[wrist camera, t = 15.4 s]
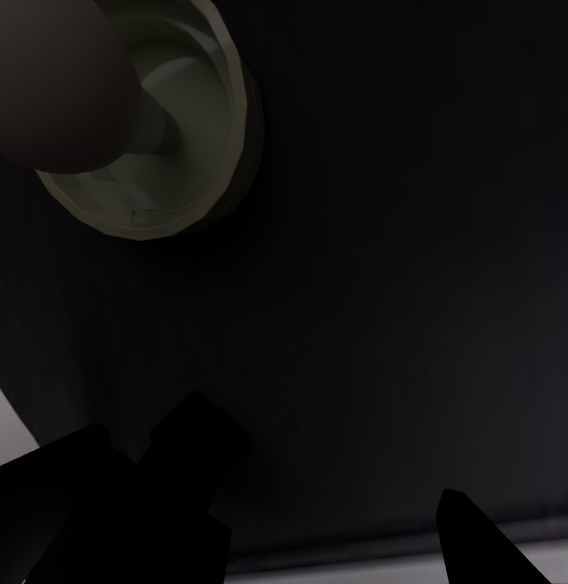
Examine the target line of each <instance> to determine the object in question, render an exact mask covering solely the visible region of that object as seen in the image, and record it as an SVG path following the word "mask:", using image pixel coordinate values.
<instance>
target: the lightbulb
mask: <svg viewBox="0 0 568 584" xmlns="http://www.w3.org/2000/svg"><path fill="white" fill-rule="evenodd" d="M178 139H179V130H178V125H177V123H176V121H175V119H174V118H173V116H172V115H171V114H170V113H168V112H167V111H166V110H165V109H164V108H162V107H161V106H160V105H159V104H158V102H157V100H156V99H155V98H154V97H153V96H152V95H151V94H150V93H149V92H147V91H146V90H145V89H144V88H143V87H142V86H141V84H140V80H139V77H138V75H137V72H136V69H135V67H134V64H133V62H132V59H131V57H130V54H129V51H128V49H127V47H126V45H125V44H124V42H123V40H122V39H121V37H120V35H119V33H118V32H117V31H116V29H115V28H114V26H113V25H112V24H111V22H110V21H109V20H108V18H107V17H106V16H105V15H104V13H103V12H102V11H101V10H100V9H99V7H98V6H97V5H96V4H95V3H94V2H93V1H92V0H0V155H2V156H4V157H5V158H7V159H9V160H11V161H13V162H15V163H18V164H21V165H23V166H26V167H29V168H32V169H36V170H39V171H42V172H48V173H55V174H68V175H72V174H79V173H86V172H91V171H96V170H99V169H101V168H103V167H105V166H108V165H109V164H111V163H113V162H114V161H116V160H118V159H119V158H120V157H121V156H123V155H124V154H133V155H144V154H150V155H157V156H164V155H167V154H169V153H171V152H172V151H173V150H174V149H175V147H176V145H177V143H178Z"/></svg>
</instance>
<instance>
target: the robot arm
mask: <svg viewBox="0 0 568 584" xmlns="http://www.w3.org/2000/svg"><path fill="white" fill-rule="evenodd" d="M194 397H195V398H196V399H194ZM149 438H150V439H151V440H152V441H153V443H152V445H151V446H150V447H149V449H148V450H147V451H146V453H145V454H144V455H143V456H142V458H141V459H140V460H139V462H138V463H137V464H136V463H135V462H133V461H132V460H130V459H129V458H127V457H126V454H125V453H123V452H122V451H120V450H119V451H118V452H117V453H116V454H115V455H114V457H113V458H112V459H111V460H110V459H109V458H108V456H109V453H110V444H109V435H108V429H107V428H106V427H105V426H101V425H96V424H91V425H89V426H86V427H84V428H82V429H80V430H78V431H75V432H73V433H71V434H69V435H67V436H64V437H62V438H60V439H58V440H56V441H54V442H51V443H49V444H47V445H45V446H43V447H40V448H38V449H36V450H34V451H32V452H29V453H28V454H25V455H23V456H21V457H19V458H16V459H14V460H12V461H10V462H8V463H6V464H3V465H1V466H0V584H21V583H22V582H23V580H24V579H25V580H26V582H25V583H24V584H224V578H225V571H226V564H227V557H228V551H229V544H230V537H231V530H232V528H230V527H229V526H227V525H226V524H221V523H220V522H219V521H217V520H216V519H214V518H213V517H211V516H210V515H209V514H207V512H208V509H209V507H210V504H211V502H212V499H213V497H214V495H215V492H216V490H217V487H218V485H219V482H220V480H221V477H222V475H223V472H224V470H225V469H226V468H227V467H229V466H230V465H231V464H233V463H234V462H235V461H236V460H238V459H239V458H240V457H242V456H243V455H244V454H246V453H247V452H248V451H249V450H250V449H251V446H252V441H251V440H250V439H249V438H248V437H247V436H246V435H245V434H244V433H243V432H241V431H240V430H239V429H238V428H237V427H236V426H235V425H234V424H233V423H232V422H231V421H230V420H229V419H227V418H226V417H225V416H224V415H223V414H222V413H221V412H220V411H219V410H218V409H217V408H216V407H214V406H213V405H212V404H211V403H210V402H209V401H208V400H207V399H206V398H205V397H204V396H203V395H202V394H200V393H199V392H197V391H193V392H191V393H190V394H189V395H188V396H187V397H186V398H185V399H184V400H183V401H182V402H181V403H180V404H179V405H178V406H176V407H175V408H174V409H173V410H172V411H171V412H170V413H169V414H168V415H167V416H166V417H165V418H164V419H163V420H161V421H160V422H159V423H158V424H157V425H156V426H155V427H154V428H153V429H152V430H151V431H150V432H149ZM244 444H246V445H244ZM107 458H108V459H107ZM436 523H437V528H438V533H439V538H440V543H441V547H442V552H443V557H444V562H445V566H446V571H447V576H448V581H449V584H551V583H550V582H549V581H548V580H547V579H546V578H545V576H544V575H543V574H542V573H541V572H540V571H539V570H538V569H537V568H536V567H535V566H534V565H533V564H532V563H531V562H530V561H529V560H528V559H527V558H526V557H525V556H524V555H523V554H522V553H521V552H520V550H519V549H518V548H517V547H516V546H515V545H514V544H513V543H512V542H511V541H510V540H509V539H508V538H507V537H506V536H505V535H504V534H503V533H502V532H501V531H500V530H499V529H498V528H497V527H496V526H495V524H494V523H493V522H492V521H491V520H490V519H489V518H488V517H487V516H486V515H485V514H484V513H483V512H482V511H481V510H480V509H479V508H478V507H477V506H476V505H475V504H474V503H473V502H472V501H471V500H470V498H469V497H468V496H467V495H466V494H464V493H463V492H461V491H456V490H451V489H445V490H444V491H443V492H442V495H441V499H440V502H439V506H438V509H437V513H436Z"/></svg>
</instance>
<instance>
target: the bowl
mask: <svg viewBox="0 0 568 584" xmlns="http://www.w3.org/2000/svg"><path fill="white" fill-rule="evenodd" d="M92 1H93V2H94V3H95V4H96V5H97V6H98V7H99V9H100V10H101V11H102V12H103V13H104V15H105V16H106V17H107V18H108V20H109V21H110V22H111V24H112V25H113V26H114V28H115V29H116V31H117V32H118V33H119V35H120V37H121V39H122V40H123V42H124V44H125V45H126V47H127V49H128V51H129V54H130V57H131V59H132V62H133V64H134V67H135V69H136V72H137V75H138V77H139V80H140V84H141V86H142V87H143V88H144V89H145V90H146V91H147V92H149V93H150V94H151V95H152V96H153V97H154V98H155V99H156V100H157V102H158V104H159V105H160V106H161V107H162V108H164V109H165V110H166V111H167V112H168V113H170V114H171V115H172V116H173V118H174V119H175V121H176V123H177V125H178V130H179V139H178V143H177V145H176V147H175V149H174V150H173V151H172V152H171V153H169V154H167V155H164V156H157V155H150V154H144V155H133V154H124V155H123V156H121V157H120V158H119V159H118V160H116V161H114V162H113V163H111V164H109V165H108V166H105V167H103V168H101V169H99V170H96V171H91V172H86V173H79V174H72V175H68V174H55V173H48V172H42V171H39V170H36V169H35V171H36V172H37V174H38V176H39V177H40V179H41V180H42V182H43V183H44V185H45V187H46V188H47V190H48V191H49V192H50V194H51V195H52V196H53V197H55V198H56V199H57V200H58V201H59V202H60V203H61V204H62V205H63V206H64V207H65V208H66V209H67V210H68V211H69V212H70V213H71V214H72V215H74V216H75V217H76V218H77V219H78V220H80V221H82V222H84V223H86V224H88V225H90V226H92V227H93V228H95V229H97V230H99V231H101V232H103V233H105V234H107V235H109V236H115V237H121V238H126V239H132V240H138V241H145V240H151V239H158V238H164V237H170V236H177V235H183V234H188V233H194V232H200V231H203V230H206V229H207V228H209V227H211V226H213V225H214V224H216V223H218V222H220V221H221V220H223V219H225V218H227V216H229V215H230V214H231V213H232V212H233V211H234V209H235V208H236V207H237V206H238V205H239V204H240V203H241V201H242V200H243V199H244V198H245V197H246V196H247V194H248V192H249V190H250V188H251V186H252V183H253V181H254V179H255V176H256V174H257V171H258V169H259V167H260V164H261V161H262V153H263V144H264V135H265V121H264V115H263V109H262V103H261V96H260V90H259V89H258V85H257V83H256V81H255V79H254V77H253V74H252V72H251V70H250V68H249V66H248V64H247V62H246V60H245V58H244V55H243V54H242V52H241V50H240V48H239V46H238V45H237V43H236V41H235V39H234V37H233V36H232V34H231V32H230V30H229V28H228V27H227V25H226V23H225V21H224V19H223V18H222V16H221V14H220V12H219V10H218V9H217V7H216V6H215V5H214V4H213V3H212V2H211V1H210V0H92Z"/></svg>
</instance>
